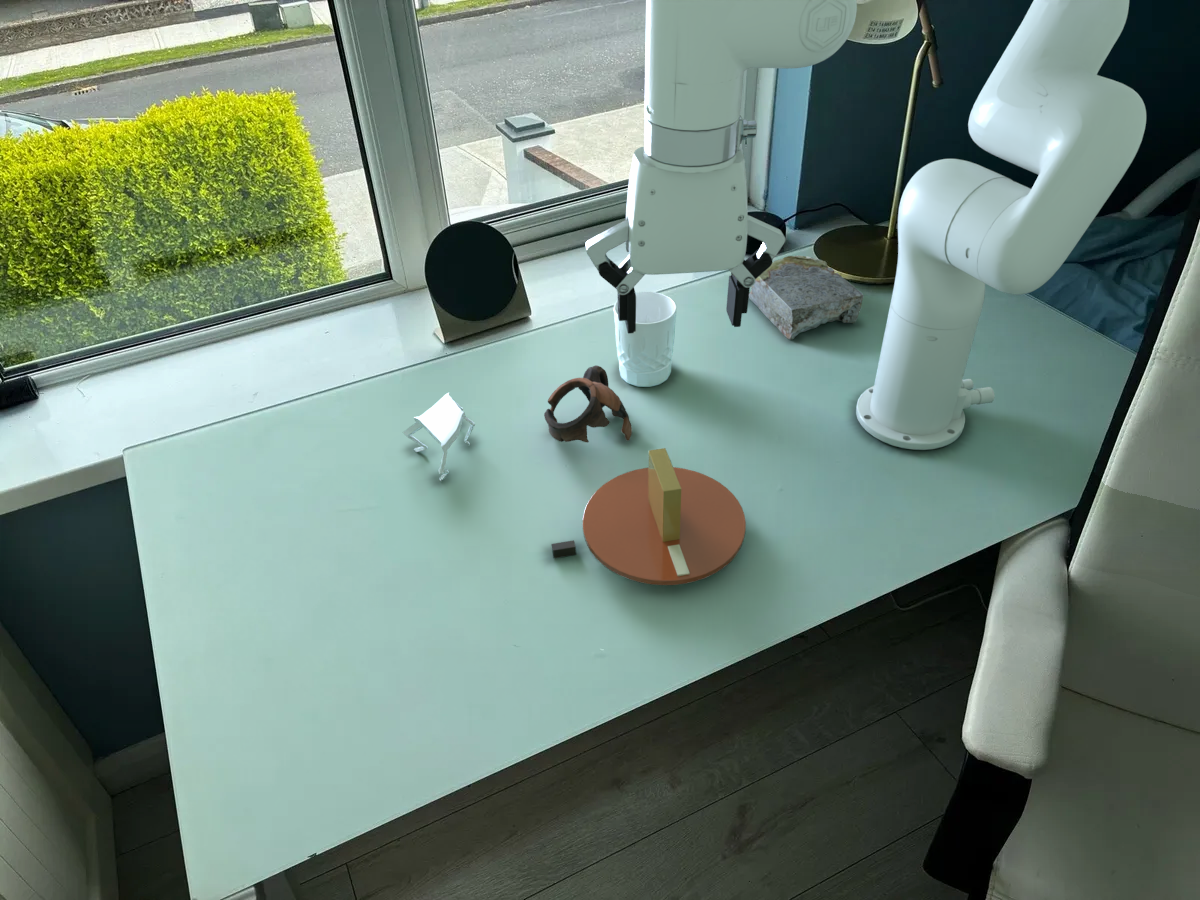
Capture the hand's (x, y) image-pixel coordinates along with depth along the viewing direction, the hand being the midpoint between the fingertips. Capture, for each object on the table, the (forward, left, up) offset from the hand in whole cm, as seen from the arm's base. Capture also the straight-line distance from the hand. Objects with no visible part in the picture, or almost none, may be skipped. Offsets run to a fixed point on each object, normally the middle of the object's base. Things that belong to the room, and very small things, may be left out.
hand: (681, 322), depth 83 cm
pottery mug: (+6, -17, -24) cm, 30 cm away
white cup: (-3, -27, -24) cm, 36 cm away
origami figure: (+24, -16, -24) cm, 38 cm away
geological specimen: (-28, -37, -24) cm, 52 cm away
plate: (+2, +3, -22) cm, 23 cm away
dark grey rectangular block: (+6, +3, -24) cm, 25 cm away
